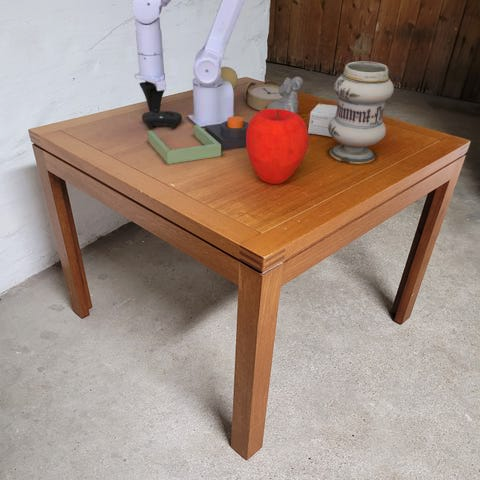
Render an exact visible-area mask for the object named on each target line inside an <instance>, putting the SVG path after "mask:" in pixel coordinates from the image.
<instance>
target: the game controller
mask: <svg viewBox="0 0 480 480" xmlns="http://www.w3.org/2000/svg"><path fill="white" fill-rule="evenodd" d="M141 119H142V121H143V123H144V124H145V125H146V126H147V128H148V129H149V130H150V129H151V130H152V129H153V128H154V126H157V127H158V126H160V127H162V126H163V127H164V126H165V127H166V126H169V127H170V129H173V130H174V129H175V128H177V125H178V124H180V123H181V122H182V120H183V116H182V114H181V113H180V112H176V111H172V110H170V111H169V110H160V111H158V109H154V111H152V112H150V111H147V112H144V113H143V114H142V115H141Z"/></svg>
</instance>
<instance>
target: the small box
mask: <svg viewBox="0 0 480 480" xmlns="http://www.w3.org/2000/svg"><path fill="white" fill-rule="evenodd" d="M336 111H337V105H335V104H334V105H332V104H325V103H318V104H316V106H315V107H314V108H312V110H311V111H310V113H309V120H308V121H309V122H308V127H307V130H308V133H309V135H311V134H312V135H318V136H324V137H330V138H332V137H331V135H330V134H329V131H328V125H329V123H330V121H331V120H332V119H333V118H334V117H335V116H336Z"/></svg>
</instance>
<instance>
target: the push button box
mask: <svg viewBox="0 0 480 480" xmlns="http://www.w3.org/2000/svg"><path fill="white" fill-rule="evenodd" d="M249 123H250V122H247V121H244V125H243V127H242V128H229V127H227V121H225V122H223V123H221V124H215V125H207V126H205V127H204V130H205V131H206V132H207V133H208V134H209V135H211V136H212V137H213V138H214V139H215V140H216V141H217V142H219V143H220V144H221V151H225V150H227V151H228V150H232V149H233V150H234V149H239V148H246V131H247V128H248V125H249Z"/></svg>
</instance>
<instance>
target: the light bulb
mask: <svg viewBox="0 0 480 480" xmlns="http://www.w3.org/2000/svg"><path fill="white" fill-rule="evenodd" d="M220 77H221V78H222V79H223V81H229V82H230V83H231V85H232V88H233V92H234V91H235V90H236V88H237V87H238V82H239V77H238V74H237V71H236V70H235V69H234V68H232V67H229V66H221V75H220Z"/></svg>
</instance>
